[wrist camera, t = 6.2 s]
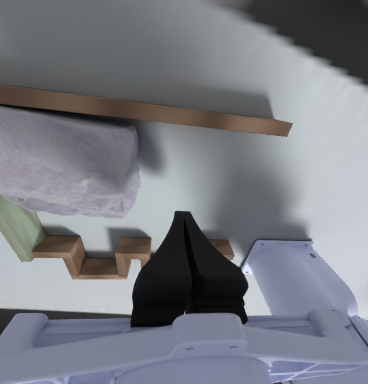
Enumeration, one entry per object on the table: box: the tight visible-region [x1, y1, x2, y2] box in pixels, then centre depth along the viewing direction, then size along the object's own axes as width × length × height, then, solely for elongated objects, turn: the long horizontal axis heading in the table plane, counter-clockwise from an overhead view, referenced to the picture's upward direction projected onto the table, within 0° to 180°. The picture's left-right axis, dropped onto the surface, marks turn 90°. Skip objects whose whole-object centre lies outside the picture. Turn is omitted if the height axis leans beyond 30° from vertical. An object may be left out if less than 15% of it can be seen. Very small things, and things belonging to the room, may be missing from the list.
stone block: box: [0, 104, 140, 218], centre depth 14 cm, size 12×5×10 cm
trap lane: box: [0, 84, 293, 279], centre depth 17 cm, size 25×22×3 cm
